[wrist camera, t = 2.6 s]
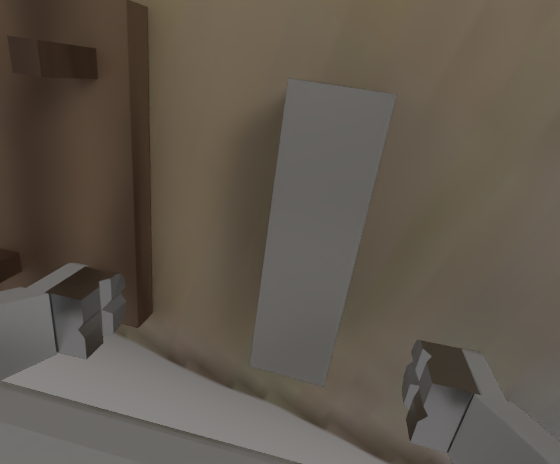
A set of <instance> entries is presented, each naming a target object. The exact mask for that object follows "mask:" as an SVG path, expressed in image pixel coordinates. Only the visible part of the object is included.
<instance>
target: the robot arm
mask: <svg viewBox="0 0 560 464" xmlns="http://www.w3.org/2000/svg"><path fill="white" fill-rule="evenodd" d="M125 288H126V286H125V277H124V276H123V275H122V274H121V273H117V272H113V271H108V270H104V269H100V268H96V267H92V266H88V265H84V264H79V263H68V264H66V265H65V266H63V267H61V268H59V269H58V270H56V271H54V272H53V273H51V274H49V275H47V276H46V277H44V278H42V279H41V280H39V281H37V282H35V283H34V284H32V285H30V286H29V287H27V288H23V287H18V288H14V289H9V290H4V291H0V380H3V379H5V378H7V377H9V376H11V375H13V374H15V373H17V372H20V371H22V370H24V369H26V368H28V367H30V366H32V365H35V364H37V363H39V362H41V361H43V360H45V359H47V358H50V357H52V356H53V355H56V354H57V353H61V354H66V355H71V356H74V357H79V358H84V359H87V358H88V357H89V356H90V355H92V354H93V352H95V350H97V349H98V348H99V347H100V345H102V344H103V337H104V336H106V335H109V334H111V333H114V332H115V331H116V330H117V329H118V328H119V327H120V325H121V323H122V321H123V319H124V317H125V313H126V300H125V299H124V297H123V296H122V294H121V292H122V291H123V290H124V289H125ZM412 357H413V362H412V363H411V364H409V365H408V366H407V367H406V371H405V374H404V379H403V386H402V396H403V403H404V405H405V406H406V407H407V408H408V410H409V412H408V415H407V417H406V422H407V427H408V433H409V439H410V443H413V444H416V445H420V446H423V447H427V448H430V449H434V450H437V451H441V452H444V453H448V457H449V458H450V460H451V461H452V462H453V464H560V441H559V440H558V439H556V438H555V437H554V436H553V435H552V434H550V433H549V432H548V431H547V430H545V429H544V428H543V427H542V426H541V425H539V424H538V423H537V422H536V421H535V420H533V419H532V418H531V417H530V416H529V415H527V414H526V413H525V412H524V411H523V410H521V409H520V408H519V407H518V406H516V405H515V404H514V403H511V402H507V401H506V399H505V397H504V395H503V393H502V391H501V389H500V387H499V385H498V383H497V381H496V379H495V377H494V375H493V373H492V371H491V369H490V367H489V366H488V364H487V362H486V360H485V358H484V356H483V354H482V353H480V352H479V351H473V350H468V349H463V348H456V347H451V346H446V345H441V344H436V343H431V342H426V341H421V340H417V341H416V342H415V344H414V347H413V349H412ZM0 464H301V463H297V462H293V461H290V460H286V459H283V458H279V457H276V456H272V455H268V454H265V453H261V452H258V451H254V450H251V449H246V448H243V447H239V446H236V445H232V444H229V443H225V442H221V441H217V440H214V439H211V438H206V437H203V436H199V435H196V434H192V433H189V432H185V431H181V430H178V429H174V428H170V427H167V426H163V425H160V424H156V423H152V422H149V421H145V420H141V419H137V418H134V417H130V416H127V415H123V414H119V413H116V412H112V411H109V410H105V409H101V408H98V407H94V406H90V405H87V404H83V403H79V402H76V401H72V400H69V399H65V398H61V397H58V396H54V395H50V394H47V393H43V392H40V391H36V390H32V389H29V388H25V387H21V386H18V385H14V384H11V383H7V382H3V381H0Z"/></svg>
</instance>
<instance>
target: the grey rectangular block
mask: <svg viewBox="0 0 560 464" xmlns="http://www.w3.org/2000/svg"><path fill="white" fill-rule="evenodd" d="M396 96H397V94H392V93H386V92H379V91H373V90H366V89H359V88H353V87H346V86H339V85H333V84H326V83H319V82H312V81H306V80H298V79H290V78H288V83H287V91H286V98H285V106H284V113H283V121H282V128H281V135H280V143H279V150H278V158H277V165H276V173H275V180H274V188H273V195H272V202H271V210H270V217H269V225H268V232H267V240H266V247H265V255H264V262H263V269H262V277H261V284H260V292H259V299H258V307H257V314H256V322H255V329H254V336H253V344H252V351H251V359H250V367H254V368H257V369H261V370H265V371H268V372H272V373H275V374H279V375H283V376H286V377H290V378H293V379H297V380H301V381H304V382H308V383H311V384H315V385H318V386H322V387H324V386H325V382H326V377H327V373H328V369H329V365H330V361H331V357H332V353H333V349H334V345H335V341H336V337H337V333H338V329H339V325H340V321H341V317H342V313H343V309H344V305H345V301H346V297H347V293H348V289H349V285H350V281H351V277H352V273H353V269H354V265H355V261H356V257H357V253H358V249H359V245H360V241H361V237H362V233H363V229H364V225H365V221H366V217H367V213H368V209H369V205H370V201H371V197H372V193H373V189H374V185H375V180H376V176H377V172H378V168H379V164H380V160H381V156H382V152H383V148H384V144H385V140H386V136H387V132H388V128H389V124H390V120H391V116H392V112H393V108H394V104H395V100H396Z"/></svg>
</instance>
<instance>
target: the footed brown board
mask: <svg viewBox="0 0 560 464" xmlns="http://www.w3.org/2000/svg"><path fill="white" fill-rule="evenodd" d="M68 263H79V264H84V265H88V266H92V267H96V268H100V269H104V270H108V271H113V272H117V273H121V274H122V275H123V276H124V277H125V286H126V288H125V289H124V290H123V291H122V292H121V294H122V296H123V297H124V299H125V300H126V313H125V317H124V319H123V321H122V323H121V324H125V325H129V326H132V327H136V328H139V327H140V326H141V325H142V324H143V322H144V321H145V320H146V319H147V318H148V317H149V316H150V315H151V314H152V257H151V196H150V136H149V75H148V14H147V7H146V6H143V5H140V4H138V3H135V2H132V1H130V0H0V291H4V290H9V289H14V288H18V287H23V288H27V287H29V286H30V285H32V284H34V283H35V282H37V281H39V280H41V279H42V278H44V277H46V276H47V275H49V274H51V273H53V272H54V271H56V270H58V269H59V268H61V267H63V266H65V265H66V264H68Z"/></svg>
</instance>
